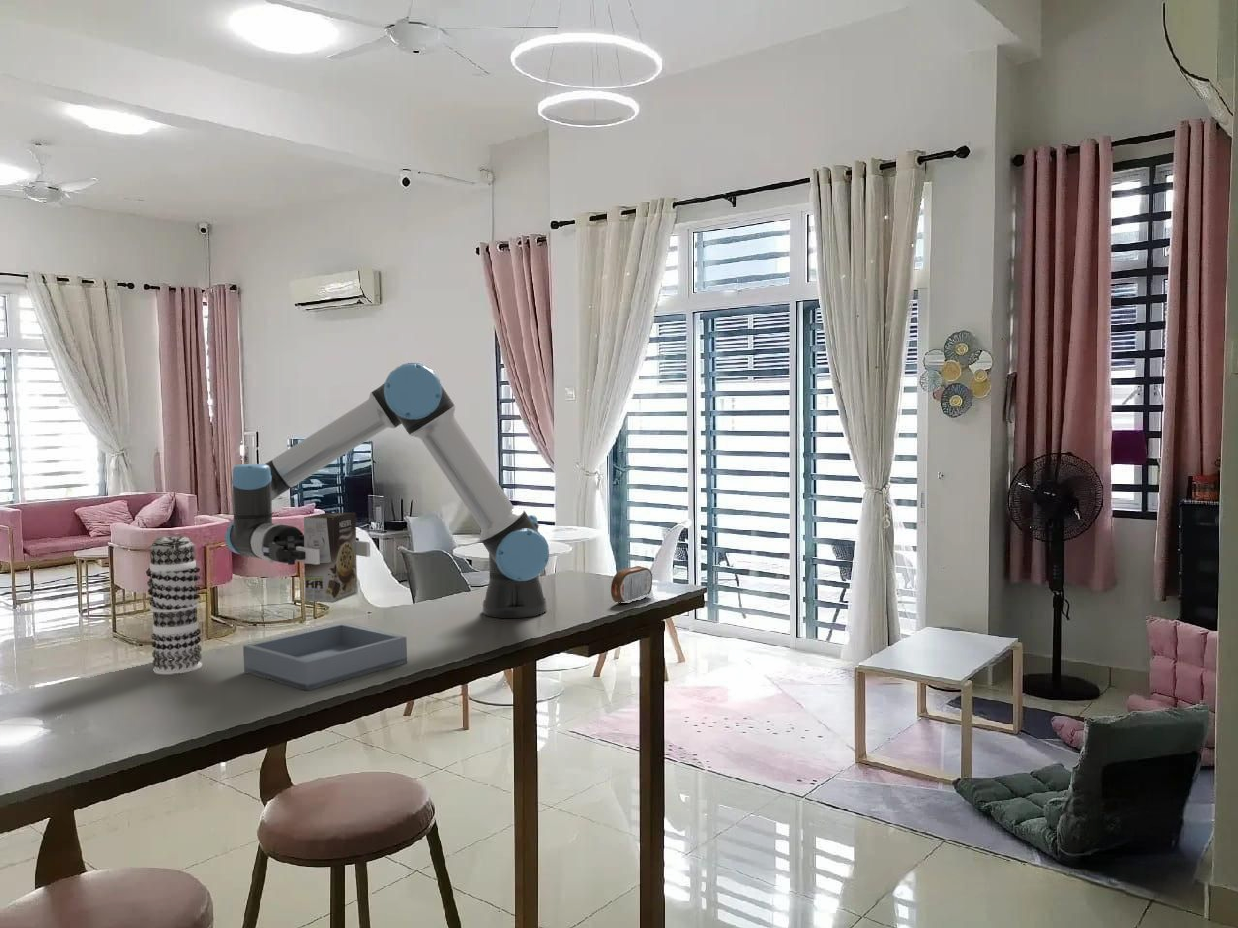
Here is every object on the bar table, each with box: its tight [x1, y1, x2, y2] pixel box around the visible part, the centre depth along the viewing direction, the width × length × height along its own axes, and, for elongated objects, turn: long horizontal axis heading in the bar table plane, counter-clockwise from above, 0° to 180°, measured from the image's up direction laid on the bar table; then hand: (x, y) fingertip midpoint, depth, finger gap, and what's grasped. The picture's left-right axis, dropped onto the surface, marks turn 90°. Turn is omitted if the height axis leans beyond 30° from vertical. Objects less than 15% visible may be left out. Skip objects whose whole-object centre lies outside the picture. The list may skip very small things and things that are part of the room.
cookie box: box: [303, 512, 358, 604], centre depth 179 cm, size 9×6×16 cm
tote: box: [242, 622, 408, 692], centre depth 177 cm, size 22×20×5 cm
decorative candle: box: [145, 535, 203, 675], centre depth 178 cm, size 9×9×25 cm
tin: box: [610, 565, 653, 603], centre depth 234 cm, size 15×3×8 cm, turn 144°
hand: (343, 553), depth 177 cm, fingers closed on cookie box, 10 cm apart
